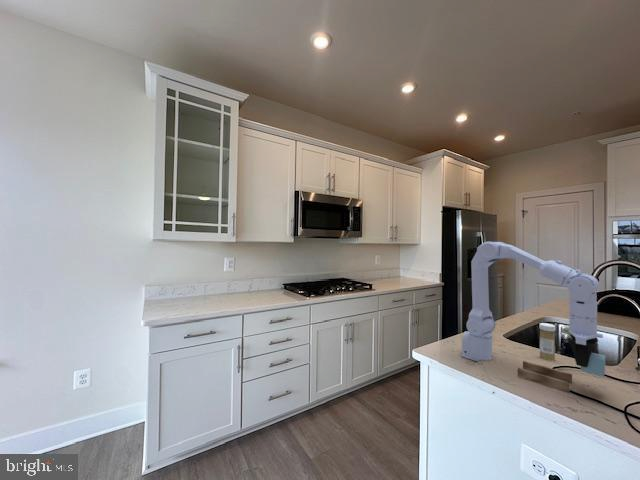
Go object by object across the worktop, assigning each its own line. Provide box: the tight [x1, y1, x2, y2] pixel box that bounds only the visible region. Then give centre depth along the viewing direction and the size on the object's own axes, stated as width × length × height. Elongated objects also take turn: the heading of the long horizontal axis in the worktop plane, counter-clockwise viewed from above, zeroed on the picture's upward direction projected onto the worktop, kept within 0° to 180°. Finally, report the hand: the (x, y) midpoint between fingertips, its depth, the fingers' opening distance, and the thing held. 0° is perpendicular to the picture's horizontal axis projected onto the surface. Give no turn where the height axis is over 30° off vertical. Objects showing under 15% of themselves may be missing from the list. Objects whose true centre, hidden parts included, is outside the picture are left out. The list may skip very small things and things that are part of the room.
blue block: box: [580, 352, 606, 377], centre depth 76 cm, size 4×4×4 cm
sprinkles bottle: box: [538, 322, 556, 362], centre depth 100 cm, size 5×5×14 cm
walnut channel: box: [517, 360, 573, 394], centre depth 84 cm, size 12×8×4 cm
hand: (582, 363), depth 78 cm, fingers closed on blue block, 4 cm apart
